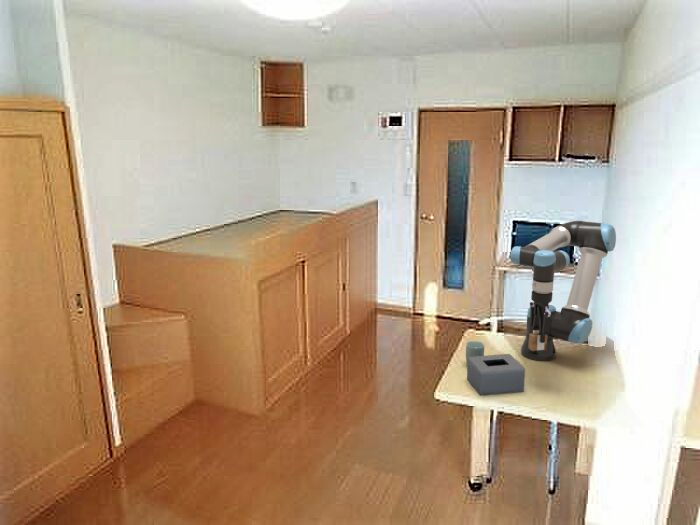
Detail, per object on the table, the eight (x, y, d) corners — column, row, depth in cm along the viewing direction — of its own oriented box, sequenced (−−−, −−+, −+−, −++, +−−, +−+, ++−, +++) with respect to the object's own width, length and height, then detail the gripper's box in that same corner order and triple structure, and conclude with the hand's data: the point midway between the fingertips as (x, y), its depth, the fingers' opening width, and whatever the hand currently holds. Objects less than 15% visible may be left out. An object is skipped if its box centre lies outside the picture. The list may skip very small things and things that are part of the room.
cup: (483, 370, 222) (485, 348, 219) (465, 368, 223) (466, 347, 221) (483, 362, 229) (484, 341, 227) (465, 361, 231) (466, 340, 228)
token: (542, 347, 206) (543, 332, 204) (546, 350, 203) (547, 335, 201) (528, 347, 205) (529, 333, 203) (531, 350, 202) (533, 336, 200)
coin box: (507, 375, 216) (509, 353, 214) (523, 391, 203) (525, 368, 200) (466, 379, 214) (467, 357, 211) (480, 395, 200) (481, 372, 198)
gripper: (523, 285, 205) (519, 340, 211) (543, 297, 190) (539, 356, 195) (540, 284, 206) (536, 339, 212) (562, 296, 191) (557, 355, 196)
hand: (537, 347), depth 204 cm, fingers closed on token, 3 cm apart
